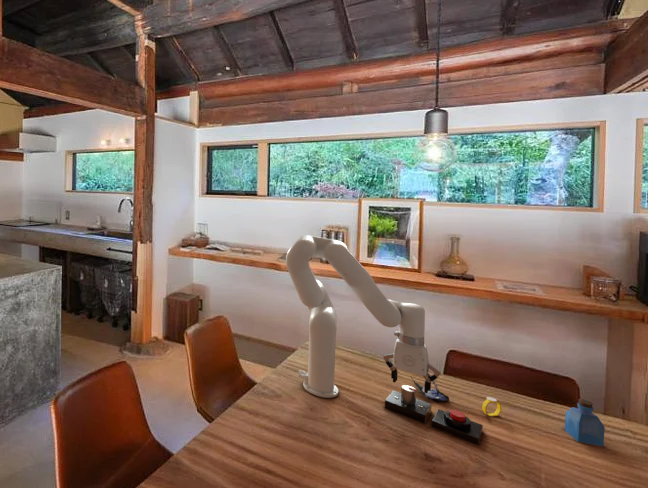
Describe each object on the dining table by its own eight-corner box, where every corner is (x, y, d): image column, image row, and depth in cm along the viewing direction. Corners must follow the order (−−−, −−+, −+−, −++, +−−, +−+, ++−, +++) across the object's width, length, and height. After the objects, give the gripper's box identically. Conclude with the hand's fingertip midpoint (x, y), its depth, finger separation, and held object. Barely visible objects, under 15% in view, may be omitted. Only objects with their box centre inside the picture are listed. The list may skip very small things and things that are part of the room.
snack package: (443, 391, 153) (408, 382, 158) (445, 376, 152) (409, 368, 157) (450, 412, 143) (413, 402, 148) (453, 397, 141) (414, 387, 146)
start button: (448, 418, 130) (449, 413, 130) (451, 413, 132) (451, 408, 132) (464, 424, 127) (464, 418, 127) (466, 418, 129) (466, 413, 129)
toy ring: (495, 413, 139) (496, 396, 139) (503, 417, 136) (504, 401, 136) (479, 413, 139) (480, 396, 139) (486, 418, 136) (487, 401, 136)
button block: (431, 426, 131) (432, 415, 130) (438, 414, 137) (438, 403, 137) (478, 445, 122) (478, 432, 122) (482, 431, 129) (483, 419, 129)
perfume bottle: (588, 434, 128) (591, 398, 128) (603, 446, 123) (605, 409, 122) (564, 429, 130) (566, 394, 130) (577, 441, 125) (580, 405, 124)
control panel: (384, 408, 141) (385, 399, 141) (392, 397, 148) (393, 389, 147) (424, 424, 132) (425, 414, 132) (431, 412, 139) (431, 403, 139)
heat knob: (399, 401, 140) (400, 387, 140) (402, 396, 143) (403, 382, 143) (413, 407, 137) (414, 392, 136) (416, 402, 140) (417, 387, 139)
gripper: (381, 334, 143) (380, 380, 143) (439, 350, 130) (437, 400, 130) (387, 329, 148) (386, 373, 148) (443, 343, 135) (442, 392, 136)
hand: (410, 386), depth 139 cm, fingers open, 9 cm apart
